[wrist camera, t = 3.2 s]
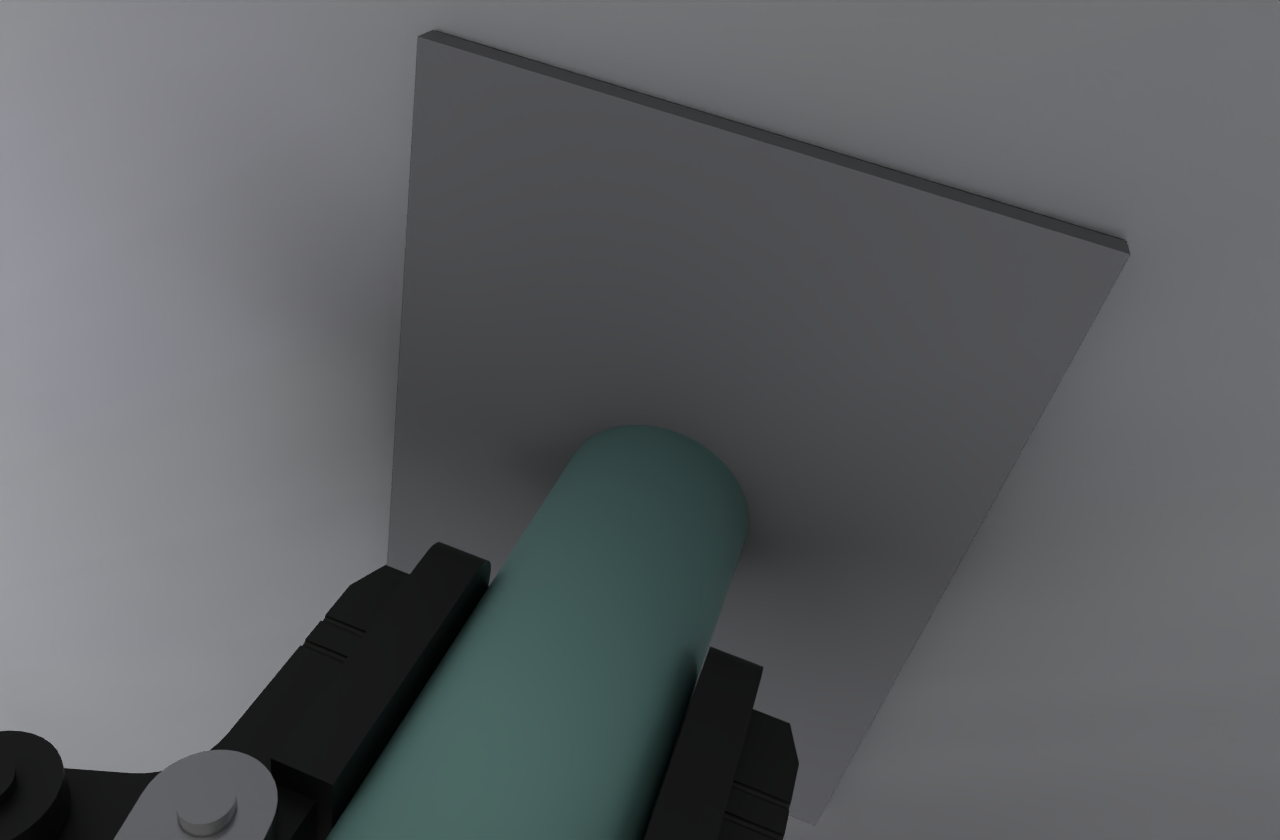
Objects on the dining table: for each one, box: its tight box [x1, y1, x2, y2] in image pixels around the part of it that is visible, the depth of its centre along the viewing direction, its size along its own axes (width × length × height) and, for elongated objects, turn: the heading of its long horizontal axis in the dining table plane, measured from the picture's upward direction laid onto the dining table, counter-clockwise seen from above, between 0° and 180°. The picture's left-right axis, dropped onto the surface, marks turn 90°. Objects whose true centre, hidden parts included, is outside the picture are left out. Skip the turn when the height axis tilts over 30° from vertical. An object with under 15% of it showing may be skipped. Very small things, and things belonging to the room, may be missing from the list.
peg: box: [326, 425, 749, 840], centre depth 11 cm, size 3×3×10 cm
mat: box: [387, 30, 1130, 826], centre depth 15 cm, size 12×9×1 cm
